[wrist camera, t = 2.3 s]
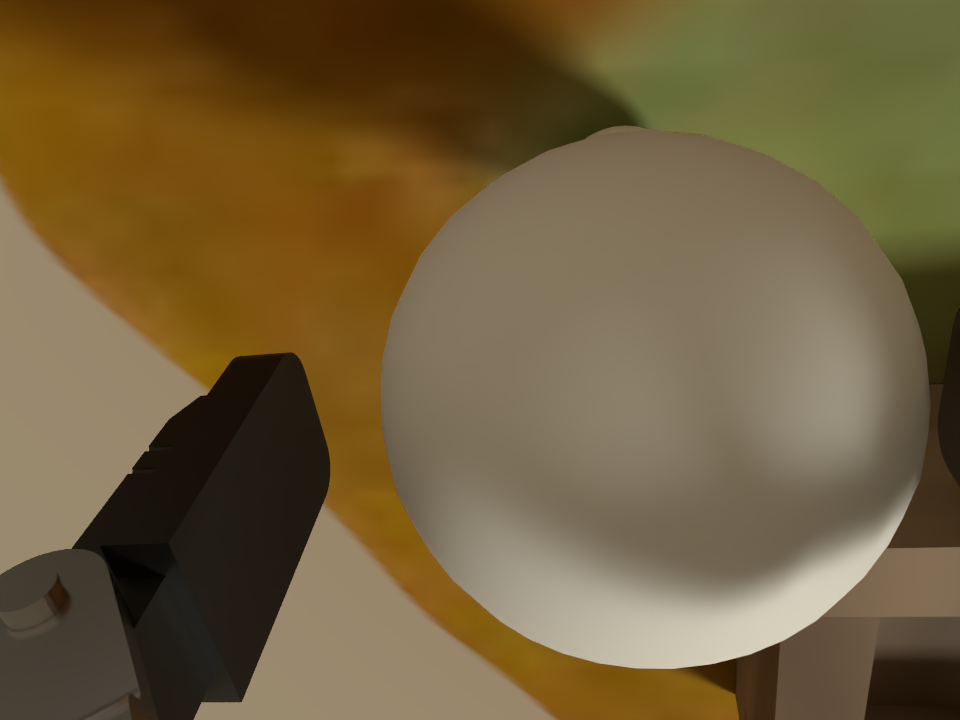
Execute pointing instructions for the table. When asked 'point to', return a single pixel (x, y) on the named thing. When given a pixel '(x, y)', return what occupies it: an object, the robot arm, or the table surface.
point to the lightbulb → (655, 399)
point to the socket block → (878, 626)
